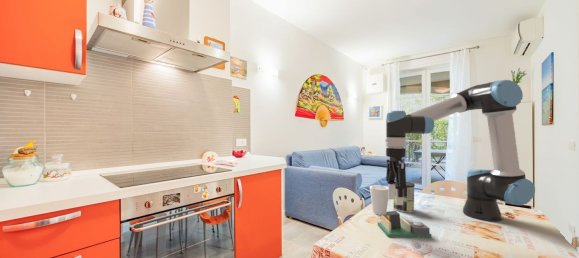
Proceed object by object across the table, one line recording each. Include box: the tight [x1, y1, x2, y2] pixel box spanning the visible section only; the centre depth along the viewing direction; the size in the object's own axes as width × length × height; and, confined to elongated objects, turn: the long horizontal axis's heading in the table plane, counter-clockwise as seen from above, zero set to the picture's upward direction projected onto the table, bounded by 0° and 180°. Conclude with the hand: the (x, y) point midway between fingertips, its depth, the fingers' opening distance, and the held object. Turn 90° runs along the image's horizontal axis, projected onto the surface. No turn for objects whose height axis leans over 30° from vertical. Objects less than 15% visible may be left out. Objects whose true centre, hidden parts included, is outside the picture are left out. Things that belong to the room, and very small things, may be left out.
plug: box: [385, 210, 401, 229], centre depth 104 cm, size 4×4×6 cm
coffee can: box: [392, 180, 416, 214], centre depth 131 cm, size 10×10×14 cm
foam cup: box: [369, 184, 389, 216], centre depth 126 cm, size 10×9×13 cm
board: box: [377, 215, 432, 238], centre depth 103 cm, size 17×12×5 cm
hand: (395, 201), depth 104 cm, fingers open, 7 cm apart
